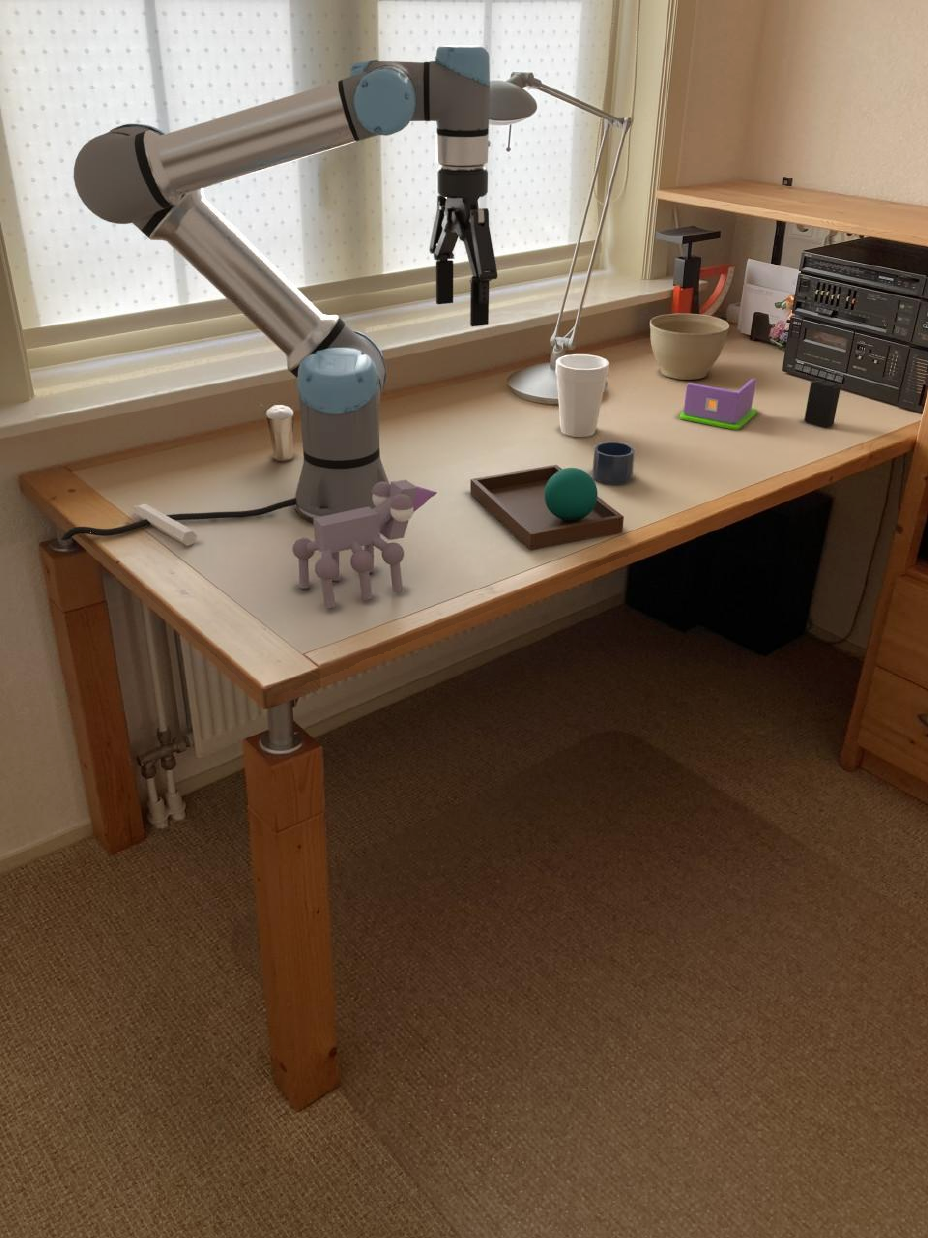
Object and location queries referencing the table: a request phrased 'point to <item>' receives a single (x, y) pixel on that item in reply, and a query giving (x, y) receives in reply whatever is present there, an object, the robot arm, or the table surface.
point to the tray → (539, 509)
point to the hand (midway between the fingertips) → (461, 313)
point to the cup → (613, 463)
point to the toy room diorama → (719, 405)
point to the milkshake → (281, 431)
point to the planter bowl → (687, 343)
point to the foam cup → (580, 392)
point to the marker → (166, 524)
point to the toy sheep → (361, 537)
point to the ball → (571, 494)
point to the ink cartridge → (822, 403)
